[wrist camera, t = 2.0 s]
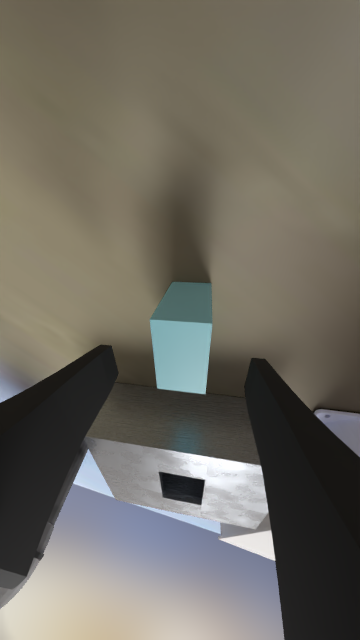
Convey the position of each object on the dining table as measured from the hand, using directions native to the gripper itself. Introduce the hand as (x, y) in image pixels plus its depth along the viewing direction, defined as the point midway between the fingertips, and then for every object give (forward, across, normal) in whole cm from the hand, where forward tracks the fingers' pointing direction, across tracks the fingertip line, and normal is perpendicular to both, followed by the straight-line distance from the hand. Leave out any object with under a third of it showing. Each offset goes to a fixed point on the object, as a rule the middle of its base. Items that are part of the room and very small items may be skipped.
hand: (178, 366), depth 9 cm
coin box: (+6, 0, +18) cm, 19 cm away
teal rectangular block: (+6, 0, 0) cm, 6 cm away
